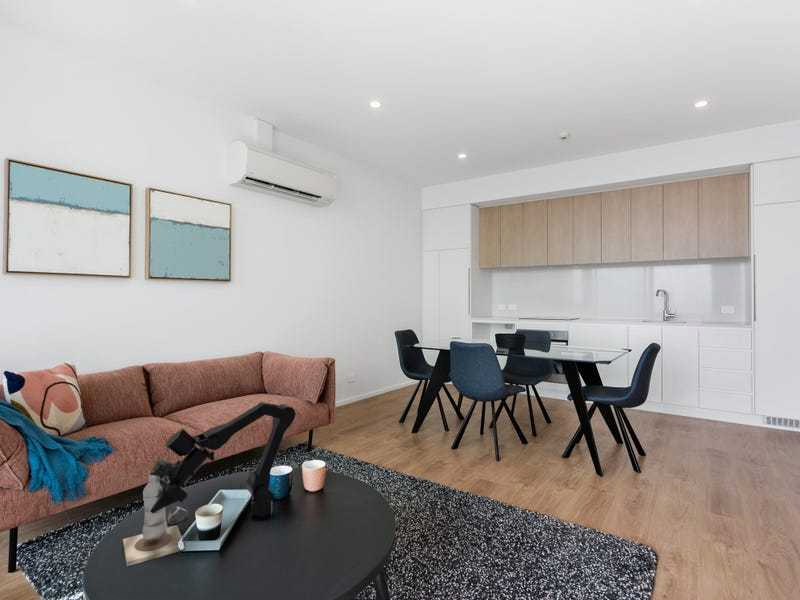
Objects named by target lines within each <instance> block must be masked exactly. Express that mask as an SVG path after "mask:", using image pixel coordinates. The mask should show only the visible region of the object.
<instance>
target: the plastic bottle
mask: <svg viewBox="0 0 800 600" xmlns="http://www.w3.org/2000/svg"><path fill="white" fill-rule="evenodd" d="M153 472H154V471H151V472H150V473H149V474H148V479H147V480H148V483H147V484H146V485H145V487H144V488H143V491H142V496H143V497H142V498H143V503H144V504H143V505H144V521H143V523H144V524H143V527H142V533H141V534H142V535H143V538H144V540H145V541H156V540H159V539H161V538H162V537H164V536H165V534H166V532H167V528H168V521H167V518H166V507H164V508H162V509H160V510H158V511H156V512H155V513H151V512H150V511H151V509H152V508H153V506H154V505H155V503H156V502H157V501H158V499H159V498H160V496H161V495H162V487H163V488H165V487H166V484H165V483H164V482H163V481H162V478H163V475H160V474H159V475H157V474H154V473H153Z"/></svg>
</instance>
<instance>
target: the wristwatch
mask: <svg viewBox="0 0 800 600" xmlns="http://www.w3.org/2000/svg"><path fill="white" fill-rule="evenodd" d="M180 510H181V511H184V514H183V515H181V517H180V518H177V519H174V520H173V521H171V518H173V517H174V516H175V515H177V514H178V513H179V511H180ZM187 516H188V511H187V509H184V508H182V507H181V506H175V507H173V508H172V509H171V510H170V511H169V513H168V515H167V524H170V525H175V524H178V523H180V522H182V521H185V519H186V518H187Z"/></svg>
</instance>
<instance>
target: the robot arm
mask: <svg viewBox="0 0 800 600" xmlns="http://www.w3.org/2000/svg"><path fill="white" fill-rule="evenodd" d="M264 416H269V417H272V429H271V431H270V433H269V436H268V440H267V442H266V445H265V446H264V449H263V453H262V456H261V458H260V460H259V463H258V466H257V467H256V469H255V470H254V471H253V470H249V472H248V473H249V474H248V478H247V479H246V480H245V483H246V489H247V491H248V492H249V493H250V494H251V496H253V498H252V499H253V500H252V501H251V503H250V504H251V506H250V517H251V521H262V520H271V519H272V516H273V513H274V509H273V501H274V499H275V497H276V494H275V493H274V492H273V491H272V490H271V489H270V484H271V471H272V468H273V465H274V463H275V459H276V457H277V454H278V452H279V448H280V446H281V443H282V441H283V438H284V435H285V433H286V432H287V430H288V429H289V428H290V427H291V425H292V424H293V423H294V420H295V418H296V411H295V409H294V407H292V406H289V405H287V404H285V403H280V404H279V405H277V404H273V403H267V402H264V401H260V402H258V403H257V404H256V405H254V406H253V407H252V408H249V409H248V410H247V411H245V412H243V413H242V414H241V413H240V414H239V415H238V416H236V417H235V418H233V419H231V420H230V421H227V422H226V423H223V424H220V425H219V424H218V425H216V426H213V427H211V428H208V429H206V431H204V432H203V433H201V434H197V435H191V434H190V433H189V432H187V430H186V429H184V428H181V429H180V430H179V431H177V432H175V433H174V434H172V435H171V436H170V437H169V438H168V440H167V441H166V443H165V445H164V446H165V447H166V448H167V449H168V450H170V451H171V452H172V453H174V454H176V455H177V456H178V457H184V456H185V457H184V458H183V459H182V460H181V459H180V460H177V461H176V462H175V463H173V462H171V461H168V460H167V461H166V460H162V459H157V460H156V462H155V464H154V465H153V468H152V472H153V473H154V474H157V475H159V474H160V475H163V478H162V481H163V482H164V483H165V484H166V487H165V488H163V487H162V495H161V496H160V498H159V499H158V501H157V502H156V503H155V505H154V506H153V508H152V509H151V511H150V512H151V513H155V512H156V511H158V510H160V509H162V508H164V507H165V508H166V507H168V506H170V505H172V504H174V503H176V502H180V503H183V502H184V501H185V500H186V499H187V498H188V492H187V490H186V486H187V485H186V483H187V482H188V481H189V480H190V479H191V478H195V476H196V475H197V474H196V472H197V471H198V470H199V468H200V467H202V465H203V464H204V463H205V462H206V461H207V460H210V461H211V462H214V461H215V451H217V450H219V449H220V448H222V447H223V446H224V445H225V444H227V443H228V442H229V441H230V439H231V438H232V437H233V436H234V435H235V434H237V433H238V432H240V431H242V430H243V429H245V428H246V427H248V426H249V425H251V424H253V423H254V422H256V421H257V420H260V419H261V418H262V417H264ZM208 449H209V450H208Z"/></svg>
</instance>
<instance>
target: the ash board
mask: <svg viewBox="0 0 800 600" xmlns="http://www.w3.org/2000/svg"><path fill="white" fill-rule="evenodd" d="M181 538H183V536H182V534H181V532H180V529H179V526H178V524H176V525H175V524H174V525H172V526H167V532H166V534H165V536H164V537H162V538H161V539H159V540H156V541H145V540H144V538H143V535H142V533H140V534H137V535H133V536H130V537H126V538H123V539H122V545H123V551H124V560H125V565H126V567H130V566H133V565H136V564H140V563H143V562H146V561H151V560H154V559H157V558H160V557H164V556H168V555H171V554H174V553H177V552H181V551H180V549H179V547H178V542H179V541H180V540H181Z"/></svg>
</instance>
